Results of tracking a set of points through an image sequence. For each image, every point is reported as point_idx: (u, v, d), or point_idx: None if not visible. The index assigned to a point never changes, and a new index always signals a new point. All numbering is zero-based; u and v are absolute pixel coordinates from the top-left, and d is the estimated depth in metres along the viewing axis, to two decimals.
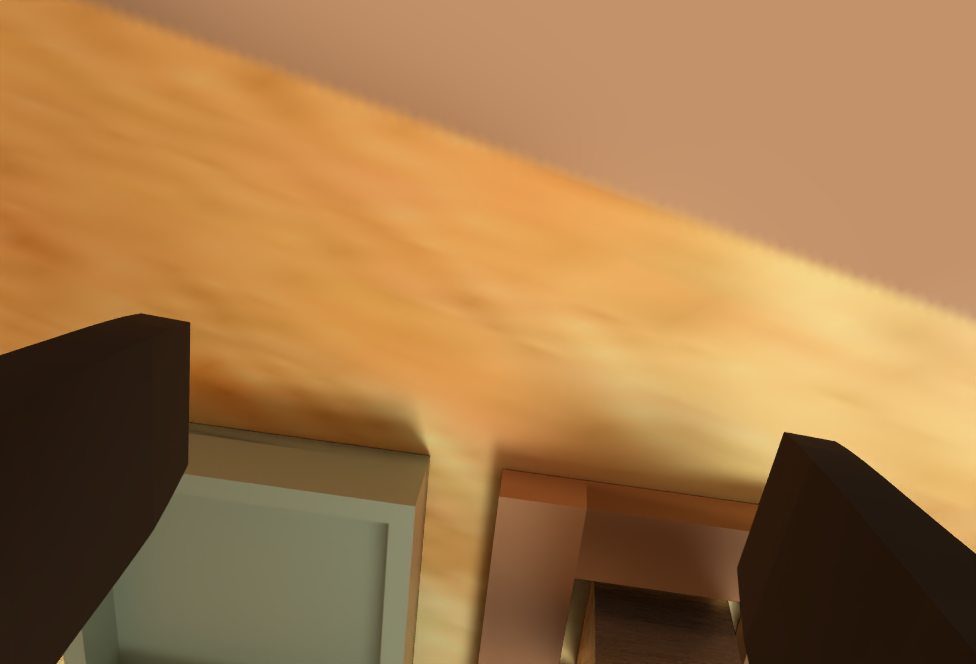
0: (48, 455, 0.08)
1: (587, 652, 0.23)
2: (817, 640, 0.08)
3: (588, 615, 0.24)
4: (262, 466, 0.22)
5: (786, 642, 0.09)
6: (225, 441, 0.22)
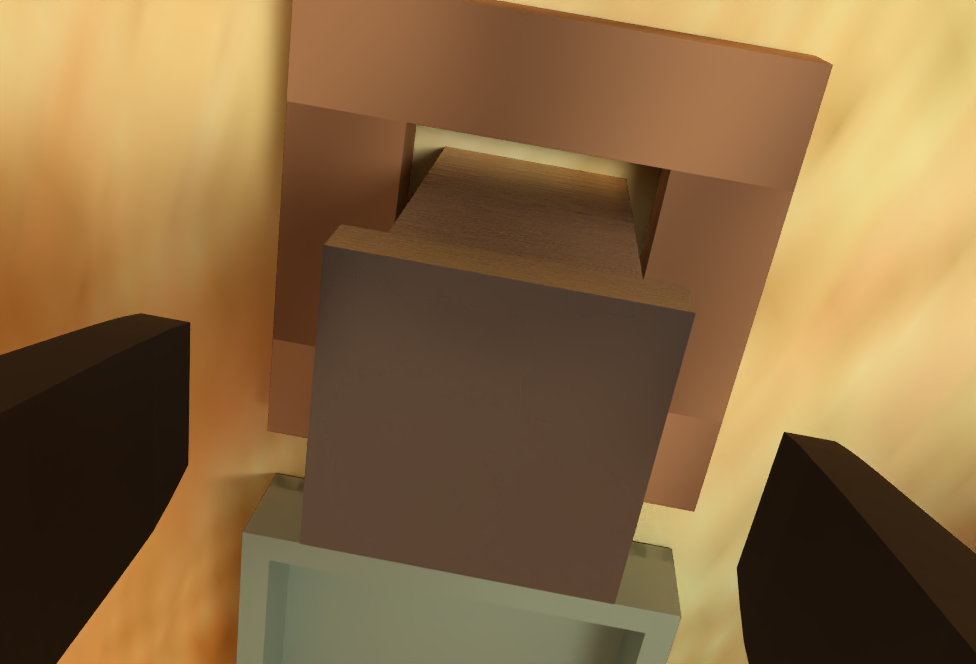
0: (48, 455, 0.08)
1: None
2: (817, 640, 0.08)
3: None
4: None
5: (786, 642, 0.09)
6: None
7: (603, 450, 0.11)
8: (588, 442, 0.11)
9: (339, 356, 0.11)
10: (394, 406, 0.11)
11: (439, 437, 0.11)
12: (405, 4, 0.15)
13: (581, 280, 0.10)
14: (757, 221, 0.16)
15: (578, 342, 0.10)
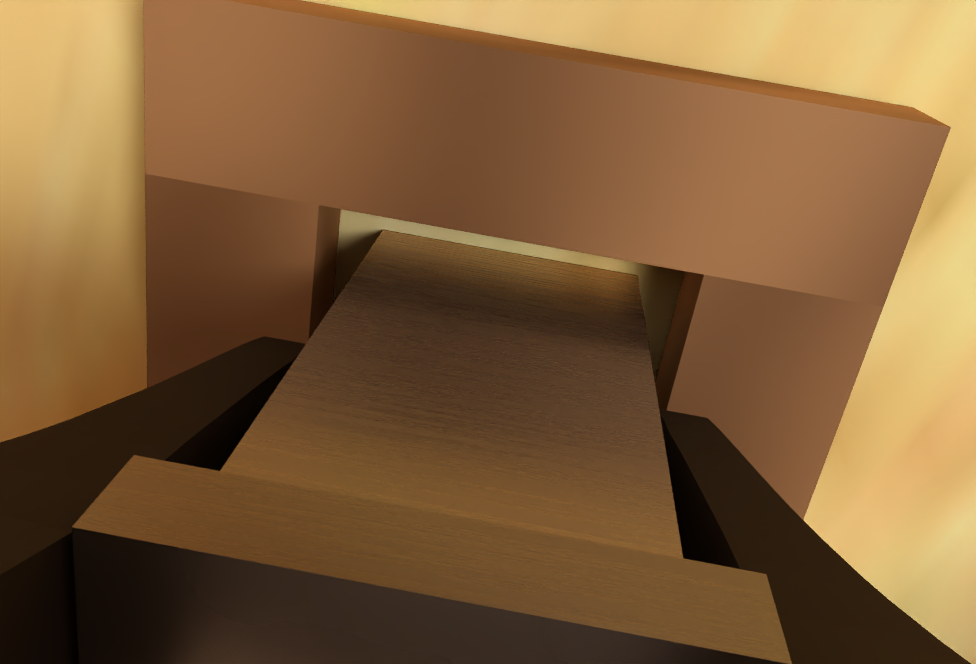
0: None
1: None
2: None
3: None
4: None
5: None
6: None
7: None
8: None
9: None
10: None
11: None
12: (310, 35, 0.10)
13: (571, 581, 0.05)
14: (829, 347, 0.11)
15: None
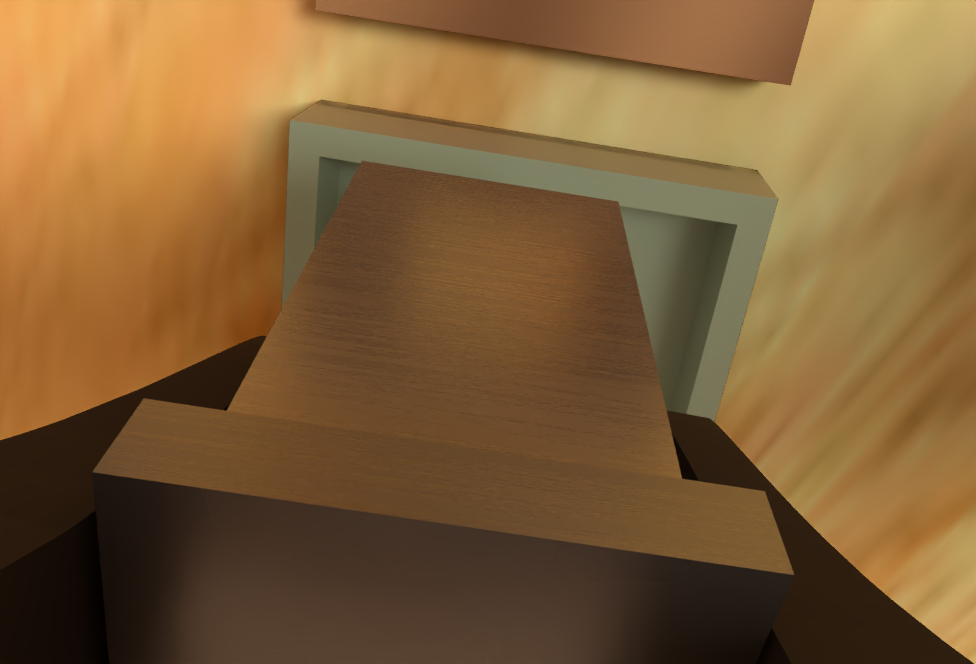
0: None
1: None
2: None
3: None
4: None
5: None
6: None
7: None
8: None
9: (151, 638, 0.06)
10: None
11: None
12: None
13: (582, 505, 0.06)
14: None
15: (578, 617, 0.06)
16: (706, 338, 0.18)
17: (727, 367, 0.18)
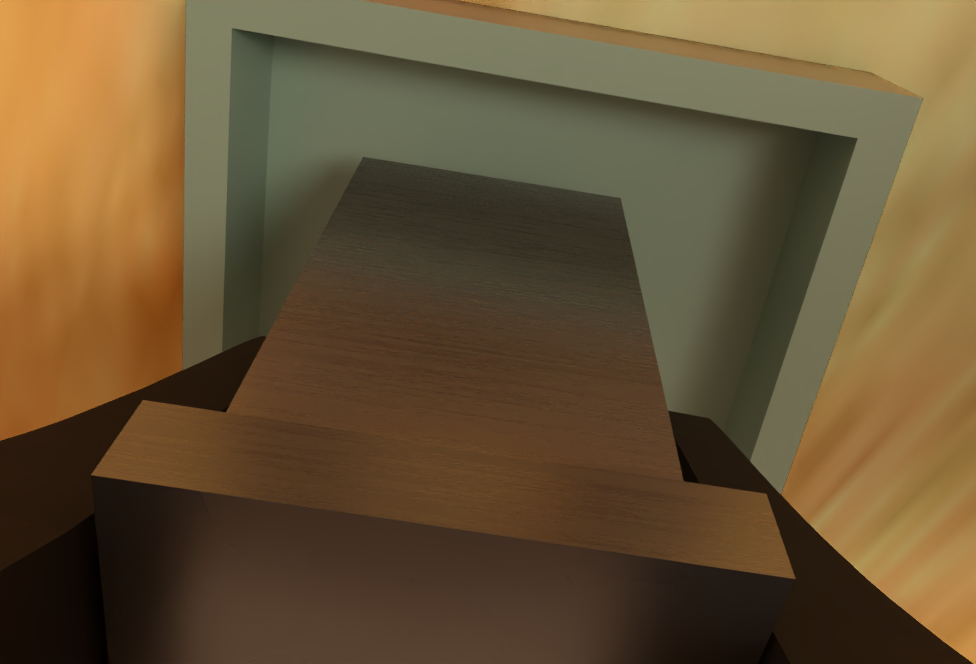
0: None
1: None
2: None
3: None
4: None
5: None
6: None
7: None
8: None
9: (151, 638, 0.06)
10: None
11: None
12: None
13: (582, 507, 0.06)
14: None
15: (576, 620, 0.06)
16: (799, 311, 0.12)
17: (827, 354, 0.12)
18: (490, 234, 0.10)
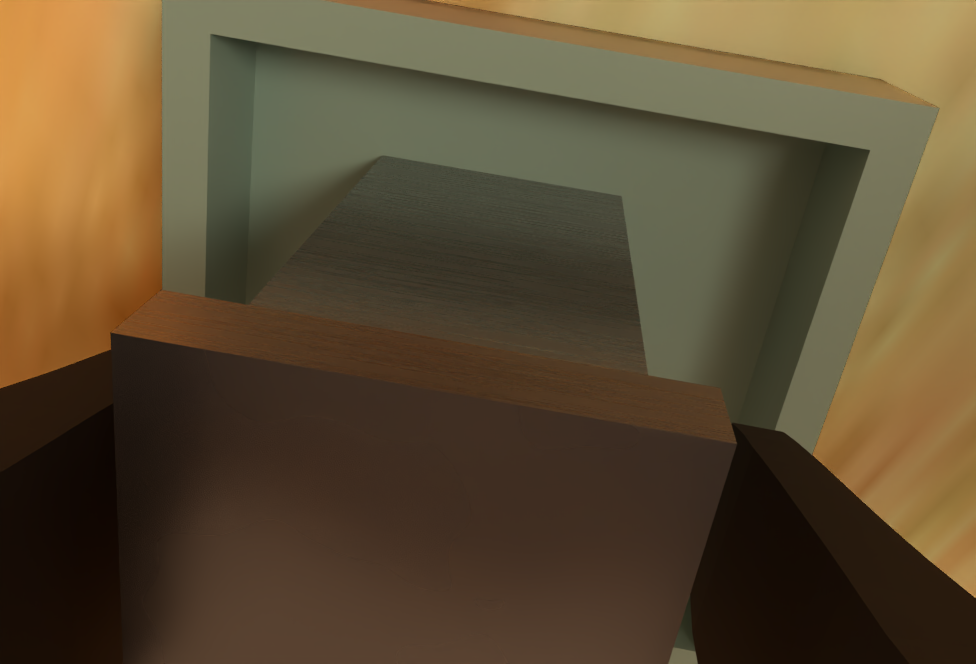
0: (114, 467, 0.08)
1: None
2: (754, 628, 0.08)
3: None
4: None
5: (728, 631, 0.09)
6: None
7: (585, 648, 0.07)
8: (561, 637, 0.07)
9: (158, 504, 0.07)
10: (250, 580, 0.07)
11: (325, 626, 0.07)
12: None
13: (547, 385, 0.06)
14: None
15: (540, 487, 0.06)
16: (807, 330, 0.12)
17: (837, 375, 0.12)
18: (494, 214, 0.11)
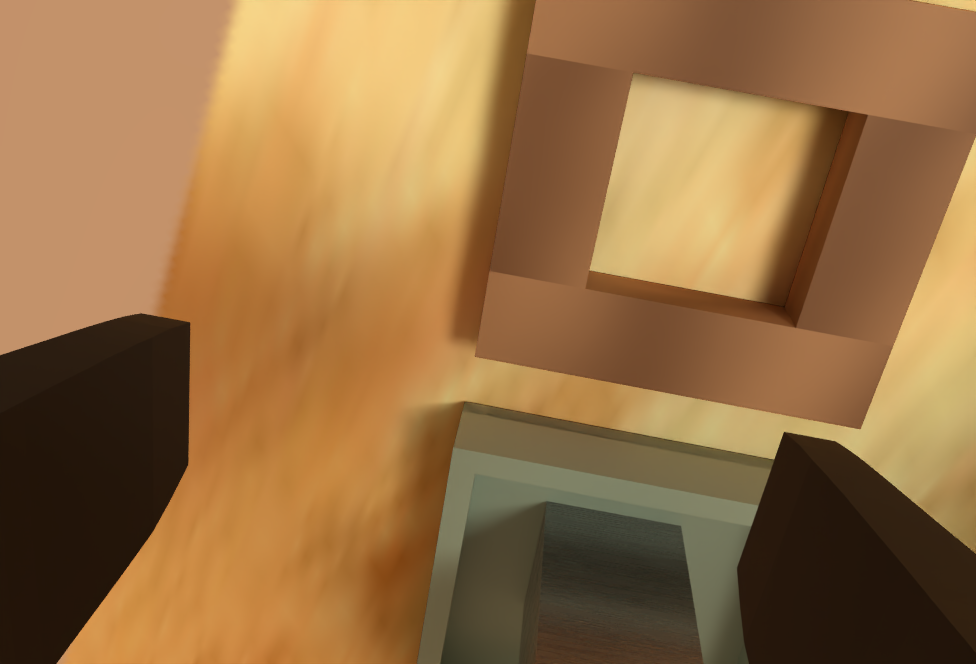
0: (48, 455, 0.08)
1: None
2: (817, 640, 0.08)
3: None
4: None
5: (786, 642, 0.09)
6: None
7: None
8: None
9: None
10: None
11: None
12: None
13: None
14: (942, 161, 0.18)
15: None
16: None
17: None
18: (618, 561, 0.21)
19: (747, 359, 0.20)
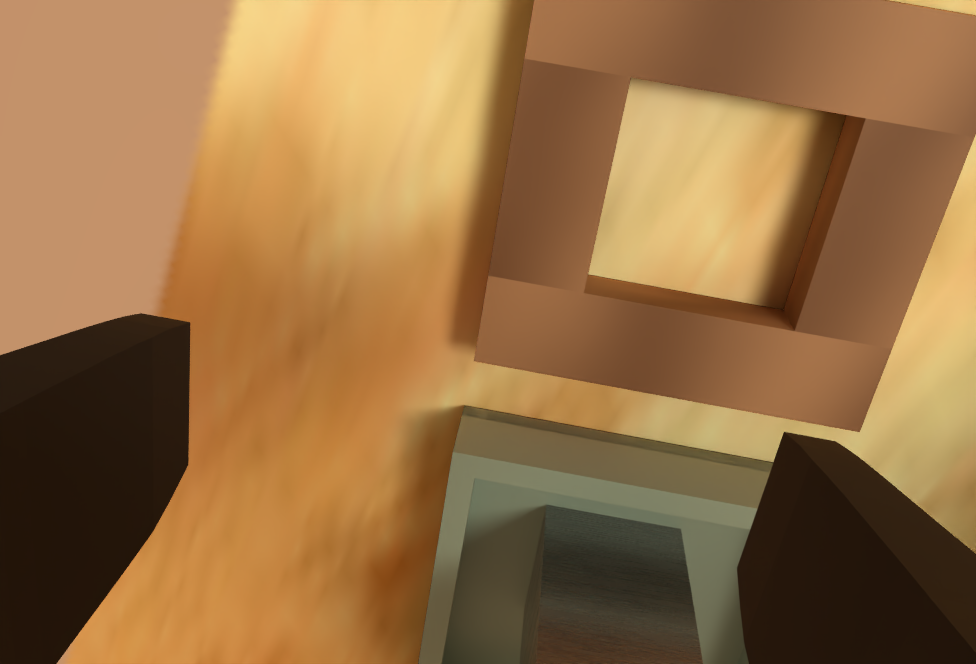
0: (48, 455, 0.08)
1: None
2: (817, 640, 0.08)
3: None
4: None
5: (786, 642, 0.09)
6: None
7: None
8: None
9: None
10: None
11: None
12: None
13: None
14: (940, 164, 0.18)
15: None
16: None
17: None
18: (618, 565, 0.21)
19: (746, 363, 0.20)
